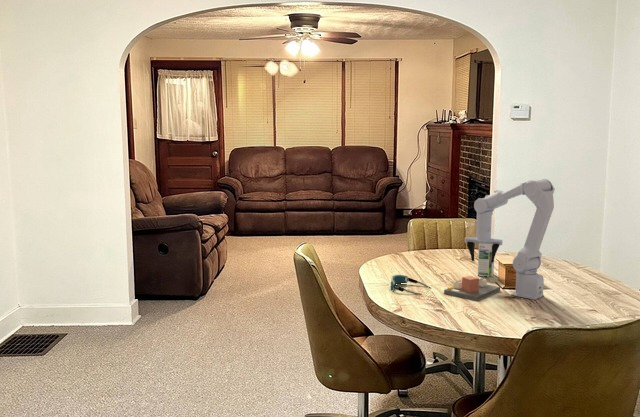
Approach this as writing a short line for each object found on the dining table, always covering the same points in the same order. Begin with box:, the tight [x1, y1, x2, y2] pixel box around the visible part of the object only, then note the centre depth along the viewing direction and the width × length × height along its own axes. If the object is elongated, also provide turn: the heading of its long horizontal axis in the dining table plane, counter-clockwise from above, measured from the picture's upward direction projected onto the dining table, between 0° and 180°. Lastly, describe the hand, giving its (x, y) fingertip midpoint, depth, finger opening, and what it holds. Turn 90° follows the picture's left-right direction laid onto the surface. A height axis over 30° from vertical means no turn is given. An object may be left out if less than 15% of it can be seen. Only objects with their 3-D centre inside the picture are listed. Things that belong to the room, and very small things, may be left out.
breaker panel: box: [443, 284, 501, 301], centre depth 234 cm, size 14×18×2 cm
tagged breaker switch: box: [452, 279, 462, 289], centre depth 234 cm, size 2×3×3 cm
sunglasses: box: [390, 274, 431, 295], centre depth 240 cm, size 14×15×5 cm
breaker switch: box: [479, 277, 488, 287], centre depth 237 cm, size 2×3×3 cm
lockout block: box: [461, 275, 480, 293], centre depth 231 cm, size 4×4×5 cm
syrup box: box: [477, 243, 495, 278], centre depth 259 cm, size 6×6×14 cm
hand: (482, 261), depth 245 cm, fingers open, 7 cm apart
